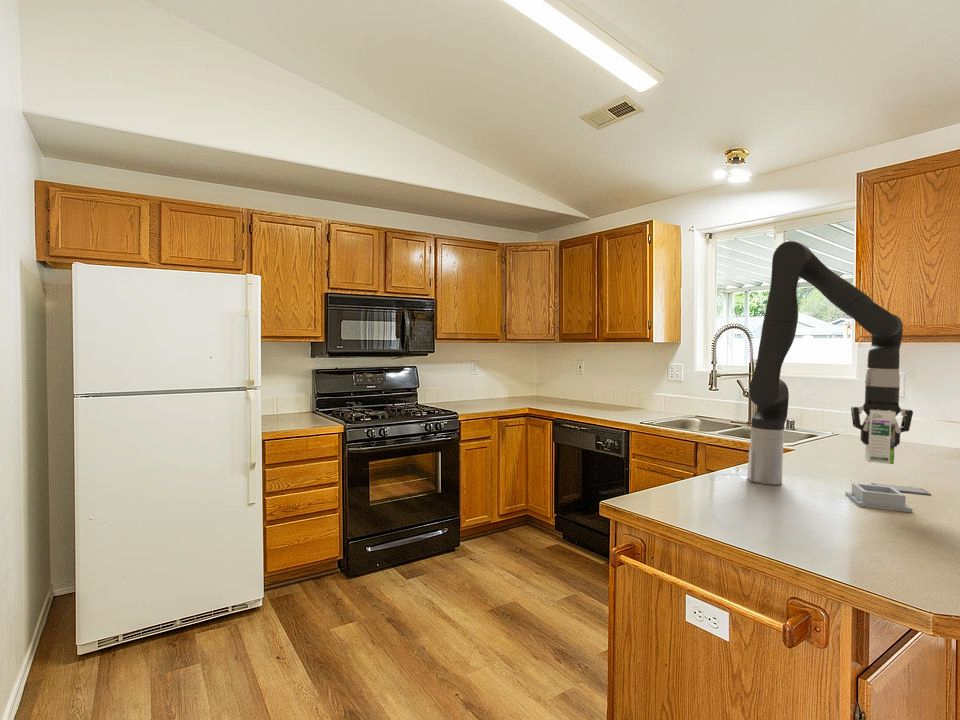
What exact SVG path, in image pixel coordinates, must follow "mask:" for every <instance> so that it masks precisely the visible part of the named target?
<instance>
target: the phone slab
mask: <svg viewBox="0 0 960 720" xmlns="http://www.w3.org/2000/svg"><path fill="white" fill-rule="evenodd" d="M870 485H878V486H888V487H893V488H895V489H896V490H898V491H899V492H901V493H902V494H913V495H914V494H915V495H922V496H929V497H930V496H932V494H931V492H928V491H927V490H925V489H923V488H921V487H914V486H913V487H912V486H905V485H904V486H903V485H902V486H901V485H894V484H884V483H883V484H882V483H874V482H870Z"/></svg>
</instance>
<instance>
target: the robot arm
mask: <svg viewBox="0 0 960 720" xmlns="http://www.w3.org/2000/svg"><path fill="white" fill-rule="evenodd" d="M771 261H772V262H771V277H770V287H769V293H768V297H767V300H766V301H767V302H766V308H765V312H764V317H763V321H762V326H761V333H760V334H761V335H760V341H759V345H758V352H757V357H756V358H757V359H756V364H755V368H754V370H753V374H752V376H751V380H750V383H749V388H748V395H749V398H750V400H751V402H752V403H753V404H754V405H755V406H756V410H755V413H754V415H753V417H752V418H751V423H750V426H751V427H750V444H749V445H750V446H749V449H748V469H747V470H748V471H747V478H748V480H749V482H750V483H751V482H753V483H757V484H763V485H771V486H772V485H773V486H777V485H782V483H783V464H784V463H783V461H784V439H785V438H784V437H785V423H786V422H787V419H788V410H789V397H790V396H789V394H790V393H789V388H788V385H787V384H786V382H785V381H784V380H782V379H781V372H782V366H783V363H784V360H785V358H786V357H787V354H788V353H789V351H790V349H791V347H792V345H793V342H794V340H795V337H796V333H797V328H798V327H797V326H798V323H799V321H798V320H799V305H798V296H797V295H798V294H797V291H798V283H799V280H800V279H799V278H801V279H803V280H804V281H806V282H807V283H809V284H810V285H811V286H813V287H814V288H816V290H817V291H819V292H820V293H821V294H822V296H824V297H825V298H826V299H827V300H828V301H829V302H830V303H831V304H832V305H834V306H835V307H836V308H838V309H839V310H840V311H842V312H843V313H845V314H846V315H847V316H848V317H850V318H852V319H853V320H854V321H855V323H856V322H857V323H858V324H859V325H860V326H861V327H862V328H863V329H864V330H865V331H866V332H867V333H869V334H870V335H871V346H870V348H869V351H868V354H867V366H866V367H867V368H866V374H865V381H864V383H865V385H864V387H865V389H864V403H863V405H862V406H851V407H850V411H851V421H852V426H853V428H856V429H859V430H860V441H861V442H862V444H863V445H868V439H869V432H868V429H869V422H870V419H869V420H868V416H869V413H870V409H872V410H887V411H895V412H896V417H897V416H898V415H899V414H900V415H901V417H902V419H901V424H900V426H899V423H898V421H897V420H896V421H895V446H894V448H897V446H899V445H900V442H901V433H905V432H907V433H908V432H909V431H910V427H911V424H912V418H913V415H914V411H913V410H912V409H909V408H905V409H904V408H901V407H900V405H899V403H900V388H901V387H900V384H901V383H900V382H901V374H900V360H901V359H900V349H901V344H902V339H903V332H904V331H903V330H904V325H903V320H902V319H901V318H900V317H899V316H898V315H897V314H894V313H891V312H889V311H888V310H886V309H885V308H883V306H880V305H879V304H878V303H876V302H875V301H874V300H873V299H872V298H871V297H870V296H869V295H867V294H866V293H865V292H863V291H862V290H861V289H859V287H857V286H855V285H854V284H852V283H851V282H849V281H848V280H846V279H844V278H843V277H841V276H840V275H838V274H836V272H834V271H833V270H831V269H830V268H828V266H826V265H825V264H824V263H823V262H822V261H821V260H820V259H819V258H818V256H817V255H815V254H814V253H813V252H812V250H811V248H809V247H808V246H807V245H805V244H804V243H801V242H798V241H795V240H788V241H784V242H782V243H780V244H779V245H778V246H777V248H775V251H774V252H773V255H772V260H771ZM863 411H864V413H865V415H866V414H867V417H866V416H865V418H864V420H863V422H862V424H861V417H860V415H861V414H862V412H863Z"/></svg>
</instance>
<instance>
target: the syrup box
mask: <svg viewBox="0 0 960 720" xmlns="http://www.w3.org/2000/svg"><path fill="white" fill-rule="evenodd" d="M865 415H866V416H865V418H866V417H867V414H866V413H865ZM896 418H897V416H896V412H895V411H887V410H872V409H870V413H869V416H868V420H869V419H870V422H869V429H868V432H869V439H868V445H865V444H864V445H865V446H864V447H865V448H864V449H865V450H864V458H865V460H866V461H867V462H868V463H879V464H887V465H888V464H889V465H894V464H895V447H894V446H895V421H897V419H896Z"/></svg>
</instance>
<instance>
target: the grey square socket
mask: <svg viewBox="0 0 960 720" xmlns="http://www.w3.org/2000/svg"><path fill="white" fill-rule="evenodd" d="M845 496H846V497H847V498H848V499H849V500H851V502H852V503H854V504H855V505H856V506H857V507H860V508H869V509H878V510H888V511H896V512H906V513H913V508H912V507H911V506H909V505H908V504H906V501H907V500H906V497H907V496H906V494H905V493H902V492H899V491H898V490H896V489H895V488H893V487H888V486H878V485H871V484H867V483H866V484H865V483H856V482H852V483H851V491H845Z"/></svg>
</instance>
